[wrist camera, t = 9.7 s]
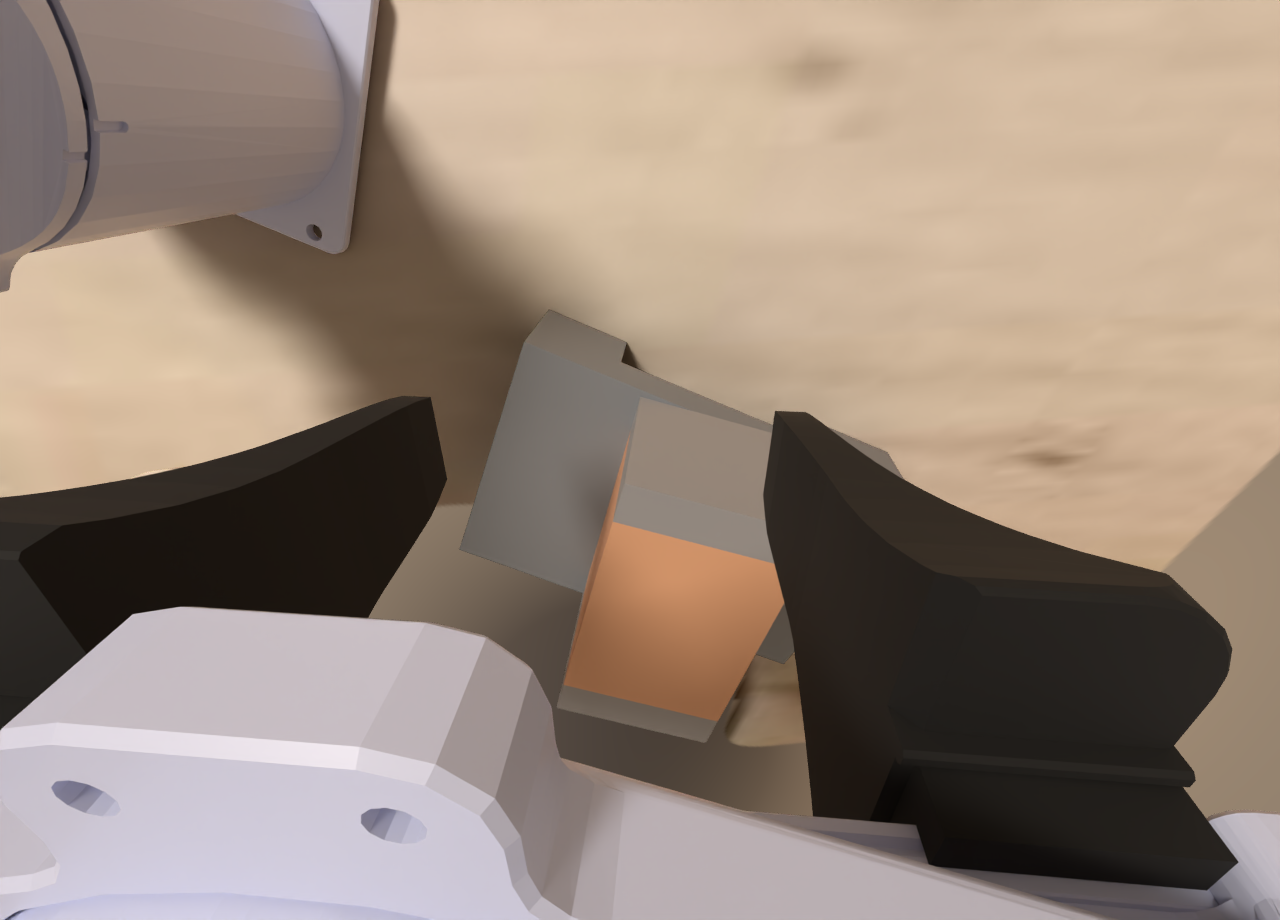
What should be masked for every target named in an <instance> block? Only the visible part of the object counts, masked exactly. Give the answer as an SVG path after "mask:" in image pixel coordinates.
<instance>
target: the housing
mask: <svg viewBox="0 0 1280 920" xmlns="http://www.w3.org/2000/svg"><path fill="white" fill-rule="evenodd" d="M771 436H772V433H770V432H766V431H763V430H759V429H756V428H752V427H748V426H745V425H741V424H738V423H734V422H730V421H727V420H723V419H719V418H716V417H712V416H709V415H705V414H701V413H698V412H694V411H691V410H687V409H683V408H680V407H676V406H672V405H669V404H665V403H662V402H658V401H654V400H651V399H647V398H644V397H640V400H639V403H638V407H637V410H636V414H635V417H634V420H633V424H632V427H631V431H630V434H629V437H628V441H627V444H626V448H625V451H624V455H623V458H622V461H621V465H620V468H619V472H618V475H617V479H616V482H615V485H614V489H613V492H612V496H611V499H610V502H609V506H608V509H607V513H606V516H605V520H604V523H603V526H602V530H601V533H600V537H599V540H598V544H597V547H596V550H595V554H594V557H593V561H592V564H591V567H590V571H589V574H588V578H587V581H586V585H585V588H584V591H583V595H582V599H581V603H580V608H579V612H578V616H577V621H576V625H575V629H574V634H573V638H572V642H571V647H570V651H569V655H568V660H567V664H566V668H565V673H564V677H563V682H562V686H561V690H560V695H559V699H558V703H557V708H559V709H563V710H568V711H572V712H576V713H580V714H584V715H589V716H593V717H597V718H602V719H606V720H610V721H614V722H618V723H623V724H627V725H631V726H635V727H640V728H644V729H649V730H652V731H657V732H661V733H665V734H669V735H674V736H678V737H683V738H687V739H691V740H695V741H699V742H704V743H706V741H707V740H708V738H709V736H710V734H711V733H712V731H713V729H714V727H715V725H716V724H717V722H718V720H719V718H720V717H721V715H722V713H723V711H724V709H725V708H726V706H727V704H728V702H729V701H730V699H731V697H732V695H733V693H734V692H735V690H736V688H737V686H738V685H739V683H740V681H741V679H742V677H743V676H744V674H745V672H746V670H747V669H748V667H749V665H750V663H751V661H752V660H753V658H754V656H755V654H756V653H757V651H758V649H759V647H760V645H761V644H762V642H763V640H764V638H765V637H766V635H767V633H768V631H769V629H770V628H771V626H772V624H773V622H774V620H775V619H776V617H777V615H778V613H779V612H780V610H781V608H782V606H783V604H784V599H783V596H782V592H781V588H780V584H779V580H778V576H777V572H776V568H775V564H774V560H773V556H772V552H771V548H770V544H769V540H768V536H767V530H766V521H765V511H764V500H763V491H764V484H765V478H766V471H767V464H768V457H769V450H770V443H771Z"/></svg>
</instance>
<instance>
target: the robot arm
mask: <svg viewBox="0 0 1280 920" xmlns="http://www.w3.org/2000/svg"><path fill="white" fill-rule="evenodd" d="M378 7H379V0H0V292H4V291H7V290H9V288H10V277H11V272H12V270H13V268H14V265H15V264H16V262H17V261H18V260H19V259H20V258H21V257H22V256H23V255H25V254H27V253H29V252H36V251H41V250H47V249H52V248H57V247H62V246H68V245H73V244H78V243H84V242H89V241H94V240H100V239H105V238H110V237H115V236H121V235H126V234H131V233H137V232H142V231H147V230H153V229H158V228H163V227H168V226H174V225H179V224H184V223H190V222H195V221H200V220H205V219H211V218H216V217H221V216H227V215H232V214H235V215H238V216H240V217H242V218H245V219H247V220H250V221H252V222H255V223H257V224H259V225H262V226H264V227H267V228H269V229H272V230H274V231H276V232H279V233H281V234H284V235H286V236H288V237H291V238H293V239H296V240H298V241H301V242H303V243H305V244H308V245H310V246H313V247H315V248H317V249H320V250H322V251H325V252H327V253H331V254H338V253H341V252H344V251H345V250H346V249H347V248H348V246H349V242H350V234H351V226H352V218H353V209H354V201H355V193H356V185H357V177H358V169H359V161H360V153H361V145H362V137H363V128H364V120H365V112H366V104H367V96H368V88H369V80H370V72H371V64H372V56H373V47H374V39H375V31H376V23H377V15H378ZM314 225H316V226H317V227H319V229H320V230H321V232H322V238H321V239H320V238H319V237H317V236H316V235H315V233H314V231H313V226H314ZM446 480H447V477H446V472H445V467H444V462H443V457H442V452H441V447H440V442H439V437H438V432H437V427H436V422H435V417H434V412H433V407H432V402H431V397H410V396H401V397H397V398H392V399H388V400H385V401H382V402H379V403H376V404H373V405H370V406H368V407H365V408H362V409H360V410H357V411H354V412H352V413H349V414H346V415H344V416H341V417H339V418H336V419H334V420H331V421H328V422H326V423H323V424H321V425H318V426H315V427H313V428H310V429H307V430H304V431H302V432H299V433H296V434H293V435H290V436H288V437H285V438H282V439H279V440H276V441H274V442H271V443H268V444H265V445H262V446H259V447H256V448H253V449H250V450H246V451H243V452H240V453H236V454H233V455H229V456H226V457H222V458H218V459H215V460H211V461H207V462H204V463H200V464H196V465H192V466H187V467H183V468H178V469H173V470H169V471H164V472H160V473H155V474H150V475H146V476H141V477H136V478H132V479H127V480H121V481H116V482H110V483H104V484H98V485H92V486H86V487H79V488H73V489H66V490H59V491H52V492H45V493H37V494H29V495H21V496H11V497H2V498H0V920H1280V812H1270V811H1257V810H1232V811H1231V810H1230V811H1225V812H1221V813H1218V814H1215V815H1211V816H1209V817H1208V818H1205V817H1204V815H1203V814H1202V812H1201V811H1200V810H1199V809H1198V807H1197V806H1196V804H1195V803H1194V802H1193V800H1192V799H1191V798H1190V796H1189V795H1188V794H1187V792H1186V791H1185V790H1184V788H1183V787H1190V786H1191V785H1192V784H1193V783H1194V782H1195V781H1196V780H1195V774H1194V771H1193V770H1192V768H1191V767H1190V766H1189V765H1188V763H1187V762H1186V761H1185V760H1184V758H1183V757H1182V756H1181V754H1180V753H1179V752H1178V750H1177V749H1176V748H1175V747H1174V745H1175V744H1176V742H1177V741H1178V740H1179V739H1180V737H1181V736H1182V735H1183V734H1184V733H1185V731H1186V730H1187V729H1188V728H1189V726H1190V725H1191V724H1192V723H1193V722H1194V721H1195V719H1196V718H1197V717H1198V716H1199V714H1200V713H1201V712H1202V711H1203V710H1204V708H1205V707H1206V706H1207V705H1208V704H1209V702H1210V701H1211V700H1212V699H1213V698H1214V696H1215V695H1216V693H1217V692H1218V690H1219V688H1220V687H1221V685H1222V683H1223V682H1224V680H1225V678H1226V677H1227V674H1228V671H1229V666H1230V660H1231V653H1232V647H1231V645H1230V642H1229V639H1228V636H1227V633H1226V631H1225V629H1224V628H1223V627H1222V626H1221V625H1220V624H1219V623H1218V622H1217V621H1216V620H1215V619H1214V618H1213V617H1212V616H1211V615H1210V614H1209V613H1208V612H1206V610H1205V609H1204V608H1202V607H1201V606H1200V605H1199V604H1198V603H1197V602H1196V601H1195V600H1194V599H1193V598H1192V597H1191V596H1190V595H1189V594H1188V593H1187V592H1186V591H1185V590H1183V588H1182V587H1181V586H1180V585H1178V583H1176V582H1175V580H1173V579H1172V578H1171V577H1170V576H1169V575H1167V574H1165V573H1161V572H1157V571H1154V570H1150V569H1146V568H1142V567H1138V566H1134V565H1130V564H1126V563H1123V562H1119V561H1115V560H1111V559H1107V558H1103V557H1099V556H1095V555H1092V554H1088V553H1084V552H1080V551H1077V550H1073V549H1070V548H1067V547H1064V546H1061V545H1058V544H1055V543H1051V542H1048V541H1045V540H1042V539H1039V538H1036V537H1033V536H1030V535H1027V534H1024V533H1021V532H1019V531H1016V530H1013V529H1010V528H1007V527H1005V526H1002V525H999V524H997V523H994V522H992V521H990V520H987V519H985V518H982V517H980V516H977V515H975V514H973V513H970V512H968V511H965V510H963V509H961V508H959V507H956V506H954V505H952V504H950V503H948V502H946V501H943V500H941V499H940V498H938V497H936V496H934V495H932V494H930V493H928V492H926V491H924V490H922V489H920V488H918V487H916V486H914V485H913V484H911V483H909V482H907V481H906V480H904V479H902V478H900V477H899V476H897V475H896V474H894V473H892V472H891V471H889V470H888V469H886V468H884V467H883V466H881V465H880V464H878V463H876V462H875V461H874V460H872V459H871V458H869V457H868V456H866V455H865V454H863V453H862V452H860V451H859V450H858V449H856V448H855V447H853V446H852V445H851V444H849V443H848V442H847V441H845V440H844V439H843V438H841V437H840V436H839V435H837V434H836V433H835V432H833V431H832V430H831V429H829V428H828V427H827V426H825V425H824V424H823V423H821V422H820V421H819V420H817V419H816V418H814V417H813V416H811V415H810V414H808V413H806V412H785V411H775V416H774V423H773V429H772V436H771V443H770V450H769V457H768V464H767V471H766V478H765V484H764V491H763V500H764V511H765V521H766V530H767V536H768V540H769V544H770V548H771V552H772V556H773V560H774V564H775V568H776V572H777V576H778V580H779V584H780V588H781V592H782V596H783V599H784V603H785V607H786V611H787V615H788V619H789V623H790V628H791V633H792V638H793V644H794V651H795V659H796V666H797V674H798V681H799V689H800V697H801V705H802V714H803V722H804V730H805V739H806V749H807V759H808V768H809V778H810V788H811V798H812V810H813V816H801V815H789V814H777V813H766V812H753V811H743V810H739V809H736V808H732V807H729V806H725V805H722V804H718V803H715V802H712V801H708V800H705V799H701V798H698V797H694V796H691V795H687V794H684V793H680V792H677V791H674V790H670V789H667V788H663V787H660V786H656V785H653V784H650V783H646V782H643V781H639V780H635V779H632V778H629V777H625V776H622V775H619V774H615V773H612V772H608V771H605V770H601V769H598V768H594V767H591V766H587V765H584V764H580V763H577V762H573V761H570V760H567V759H562V758H560V755H559V752H558V749H557V746H556V741H555V732H554V724H553V715H552V707H551V705H550V703H549V701H548V699H547V697H546V695H545V693H544V691H543V689H542V687H541V685H540V684H539V681H538V679H537V678H536V676H535V674H534V672H533V670H532V669H531V668H530V667H529V666H528V665H527V664H526V663H524V662H523V661H522V660H520V659H519V658H517V657H516V656H514V655H513V654H512V653H510V652H509V651H507V650H506V649H504V648H503V647H501V646H500V645H498V644H497V643H496V642H494V641H493V640H491V639H490V638H488V637H487V636H485V635H481V634H477V633H473V632H469V631H465V630H461V629H457V628H453V627H449V626H445V625H441V624H437V623H433V622H419V621H403V620H389V619H373V618H368V617H369V615H370V613H371V611H372V610H373V608H374V606H375V604H376V602H377V601H378V599H379V597H380V596H381V594H382V592H383V591H384V589H385V588H386V586H387V585H388V583H389V582H390V580H391V578H392V577H393V576H394V574H395V572H396V571H397V569H398V568H399V566H400V565H401V563H402V561H403V560H404V558H405V557H406V555H407V554H408V552H409V551H410V549H411V548H412V546H413V545H414V543H415V541H416V540H417V538H418V537H419V535H420V533H421V532H422V530H423V529H424V527H425V526H426V524H427V522H428V521H429V519H430V517H431V516H432V513H433V511H434V509H435V507H436V505H437V502H438V500H439V498H440V495H441V493H442V490H443V488H444V485H445V483H446Z"/></svg>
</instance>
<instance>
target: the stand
mask: <svg viewBox="0 0 1280 920" xmlns="http://www.w3.org/2000/svg"><path fill="white" fill-rule="evenodd" d="M626 343H627V342H625V341H622V340H620V339H618V338H615V337H613V336H610V335H608V334H606V333H603V332H601V331H599V330H596V329H594V328H591V327H589V326H587V325H584V324H582V323H580V322H577V321H575V320H573V319H570V318H568V317H565V316H563V315H561V314H558V313H556V312H554V311H551V310H548V312H547V313H546V314H545V315H544V317H543V318H542V319H541V321H540V322H539V323H538V324H537V326H536V327H535V328H534V330H533V331H532V332H531V333H530V335H529V336H528V337H527V339H526V340H525V341H524V344H523V347H522V350H521V353H520V357H519V360H518V363H517V366H516V369H515V373H514V376H513V379H512V382H511V385H510V389H509V392H508V395H507V398H506V402H505V405H504V408H503V411H502V414H501V418H500V421H499V424H498V427H497V430H496V434H495V437H494V440H493V443H492V446H491V450H490V453H489V456H488V459H487V463H486V466H485V469H484V472H483V475H482V479H481V482H480V485H479V488H478V491H477V495H476V498H475V501H474V504H473V508H472V511H471V514H470V517H469V520H468V524H467V527H466V530H465V533H464V536H463V540H462V543H461V546H460V550H462V551H465V552H468V553H470V554H473V555H476V556H479V557H482V558H485V559H488V560H490V561H493V562H496V563H499V564H502V565H505V566H507V567H510V568H513V569H516V570H519V571H522V572H524V573H527V574H530V575H533V576H536V577H539V578H541V579H544V580H547V581H550V582H553V583H555V584H558V585H561V586H564V587H567V588H569V589H572V590H575V591H578V592H581V593H583V591H584V588H585V585H586V581H587V578H588V574H589V571H590V567H591V564H592V561H593V557H594V554H595V550H596V547H597V544H598V540H599V537H600V533H601V530H602V526H603V523H604V520H605V516H606V513H607V509H608V506H609V502H610V499H611V496H612V492H613V489H614V485H615V482H616V479H617V475H618V472H619V468H620V465H621V461H622V458H623V455H624V451H625V448H626V444H627V441H628V437H629V434H630V431H631V427H632V424H633V420H634V417H635V414H636V410H637V407H638V403H639V400H640V397H644V398H647V399H651V400H654V401H658V402H662V403H665V404H669V405H672V406H676V407H680V408H683V409H687V410H691V411H694V412H698V413H701V414H705V415H709V416H712V417H716V418H719V419H723V420H727V421H730V422H734V423H738V424H741V425H745V426H748V427H752V428H756V429H759V430H763V431H766V432H770V433H772V429H773V425H771V424H768V423H766V422H764V421H761V420H759V419H756V418H754V417H752V416H749V415H747V414H744V413H742V412H740V411H737V410H735V409H732V408H730V407H728V406H725V405H723V404H720V403H718V402H716V401H713V400H711V399H708V398H706V397H704V396H701V395H699V394H696V393H694V392H692V391H689V390H687V389H684V388H682V387H680V386H677V385H675V384H672V383H670V382H668V381H665V380H663V379H660V378H658V377H656V376H653V375H651V374H648V373H646V372H644V371H641V370H639V369H636V368H634V367H632V366H629V365H627V364H624V363H622V362H621V360H622V357H623V354H624V350H625V347H626ZM829 429H831V428H829ZM831 430H832V431H833V432H835V433H836V434H837V435H839V436H840V437H841V438H843V439H844V440H845V441H847V442H848V443H849V444H851V445H852V446H853V447H855V448H856V449H858V450H859V451H860V452H862V453H863V454H865V455H866V456H868V457H869V458H871V459H872V460H874V461H875V462H876V463H878V464H880V465H881V466H883V467H884V468H886V469H888V470H889V471H891V472H892V473H894V474H896V475H897V476H899V477H900V478H902V479H903V477H902V475H901V474H900V472H899V471H898V469H897V467H896V466H895V464H894V462H893V461H892V459H891V457H890V456H889V454H888V452H885V451H883V450H880V449H878V448H876V447H873V446H871V445H869V444H866V443H864V442H861V441H859V440H857V439H854V438H852V437H850V436H847V435H845V434H843V433H840V432H838V431H835V430H833V429H831ZM793 653H794V644H793V638H792V633H791V628H790V623H789V619H788V615H787V611H786V607H785V603H784V604H783V606H782V608H781V610H780V612H779V613H778V615H777V617H776V619H775V620H774V622H773V624H772V626H771V628H770V629H769V631H768V633H767V635H766V637H765V638H764V640H763V642H762V644H761V645H760V647H759V649H758V651H757V653H756V655H759V656H762V657H765V658H767V659H770V660H773V661H776V662H779V663H782V664H784V663H785V662H786V661H787V660H788V659H789V657H790V656H791V655H792V654H793Z"/></svg>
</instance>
